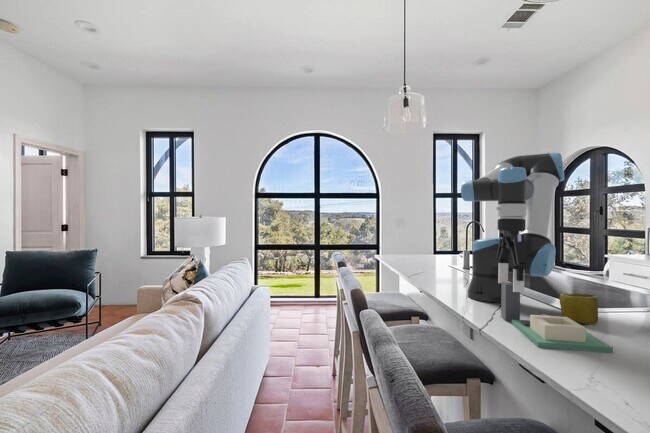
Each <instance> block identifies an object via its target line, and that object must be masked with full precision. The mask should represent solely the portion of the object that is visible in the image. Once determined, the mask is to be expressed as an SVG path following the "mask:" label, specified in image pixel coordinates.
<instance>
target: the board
mask: <svg viewBox="0 0 650 433" xmlns="http://www.w3.org/2000/svg"><path fill="white" fill-rule="evenodd" d="M511 325H513V326H514V327H515V328H516V329H517V330H518V331H519V332H520V333H522V335H524V336H525V337H526V338H527V339H528V340H529V341H530V342H532V343H533V344H534V345H535V346H536V347H537V348H542V349H543V348H545V349H556V350H557V349H559V350H571V351H585V352H597V353H610V354H611V353H612V354H613V353H614V347H613V346H611V345H610V344H608V343H606V342H604V340H601V339H600V338H598V337H596V336H594V335H592V334H591V333H589V332H588V331H587V330H586V327H585V326H583V325H582V324H580V323H579V324H578V323H576V322H575V321H573V320H571V319H569V318H568V317H563V316H557V315H552V314H551V315H550V314H544V313H543V314H540V315H538V314H530V316H529V319H527V320H526V319H520V320H512V321H511Z"/></svg>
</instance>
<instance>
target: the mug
mask: <svg viewBox="0 0 650 433" xmlns="http://www.w3.org/2000/svg"><path fill="white" fill-rule="evenodd" d="M558 297H559V304H560V309H561V317H568V318H569V319H571V320H573V321H575V322H576V323H578V324H580V325H582V324H583V325H591V324H597V323H599V298H598V296H597V295H594V294H589V293H583V292H582V293H578V292H574V293H573V292H572V293H567V292H563V293H562V292H561V293H560V294H559V296H558Z"/></svg>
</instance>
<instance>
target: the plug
mask: <svg viewBox="0 0 650 433" xmlns="http://www.w3.org/2000/svg"><path fill="white" fill-rule="evenodd" d="M500 305H501V308H500V309H501V310H500V314H501V315H500V318H501V319H503V321H505V322H512V320H521V292H513V282H509V281H508V282H502V292H501V303H500Z"/></svg>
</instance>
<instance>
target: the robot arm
mask: <svg viewBox="0 0 650 433" xmlns="http://www.w3.org/2000/svg"><path fill="white" fill-rule="evenodd" d="M564 170H565V169H564V162H563V157H562V154H561V153H560V152H547V153H538V154H527V155H526V154H524V155H517V156H513V157H510V158H507V159H505V160H502V161H500V162H497V164H496V165H494V166H493V167H492V169H491V170H490V171H489V172H487V173H485V174H484V175H482V176H481V177H479V178H478V179H475V180H472V179H470V180H465V181H463V183H462V184H461V187H460V195H461V197H462V198H461V199H462V200H463V201H464V202H472V203H474V202H497V204H498V205H497V207H495V209H496V211H497V216H498V217H499V218H498V219H497V230H498V231H500V232H499V237H493V238H483V239H476V240H474V241H473V242H472V250H471V252H472V268H471V269H472V278H471V280H470V282H469V284H468V288H467V293H466V294H467V298H470V299H472V300H475V301H479V302H480V301H481V302H486V303H500V304H501V292H502V282H508V283H509V274H512V283H513V292H520V293H525V276H531V277H548V276H549V275H550V274H551V273H552V271H553V268H554V266H555V261H556V252H557V251H556V250H557V249H556V246H555V244H553V243H552V241H551V239H550V238H549V237H548V231H549V223H550V216H551V210H552V204H553V203H552V201H553V194H554V190H555V189H556V188H557V187H558V186H559V183H560V182H563V181H565V171H564ZM501 231H503V232H501Z"/></svg>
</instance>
